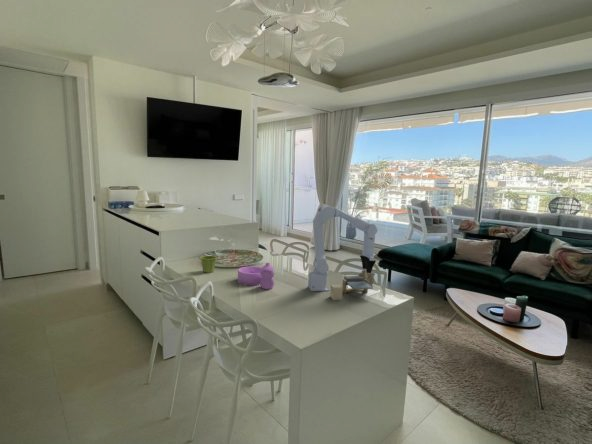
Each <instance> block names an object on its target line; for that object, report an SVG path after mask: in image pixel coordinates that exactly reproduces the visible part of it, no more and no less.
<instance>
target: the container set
mask: <svg viewBox="0 0 592 444" xmlns="http://www.w3.org/2000/svg"><path fill="white" fill-rule="evenodd" d="M274 270H275V268H274V266H273V265H271V263H270V262H265V264H264V265H263V266H252V265H251V266H243V267H239V268H238V270H237V283H238V282H239V284H240V283H242V284H241V285H243V284H246V285H245V286H260V287H261V289H264V290H270V289H272V288H273V287H274V286H275V280H274V279H273V278H274V276H275V271H274ZM259 284H260V285H259Z"/></svg>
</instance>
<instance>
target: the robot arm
mask: <svg viewBox="0 0 592 444" xmlns="http://www.w3.org/2000/svg"><path fill="white" fill-rule="evenodd" d="M332 218H341V219H343V220H346V221H347V222H349V223H350V224H351V226H352V227H354V228H356V229H358V230H359V231H362V232H363V244H362V245H363V246H362V253H361V254H362V255H359V258H360V260H361V266H362V269H363V270H366V271H367V273H371V272H373V268H374V266H375V265H376V263H377V260H375V256H377V254H376V253H375V244H376V243H375V240H376V234H377V233H378V227H377V226H376V224H373V223H371V222H370V221H369V220H366V219H364V218H363V217H362V216H360V215H359V216H358V215H357V216H352V215H351V214H349V213H347V212H345V211H343V210H341V209H339V208H337V207H333V206H330V205H328V204H323V205H321V206H320V207H319V208H318V209H317V211H316V214H315V215H314V218H313V219H312V229H313V240H314V252H315V253H314V260H313V267H314V269H313V271H312V272H309V273H308V283H307V284H308V285H307V287H308V289H309V290H310V292H322V291H323V292H326V291H327V292H328V291H330V289H329V288H328V287H327V283H328V271H329V268H330V267H329V266H330V265H329V264H328V262H327V257H326V253H325V251H326V250H325V238H324V224H325V223H326V222H327V221H328V220H331V219H332Z"/></svg>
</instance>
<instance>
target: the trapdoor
mask: <svg viewBox="0 0 592 444" xmlns="http://www.w3.org/2000/svg"><path fill="white" fill-rule="evenodd" d="M343 280H346V281H347V284H346V286H348V287H350V288H352V289H368V290H373V285H372V286H370V285H369V284H368V283H366V282H356V281H363V278H362V277H361V276H358V275H344V276H343Z"/></svg>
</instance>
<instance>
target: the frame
mask: <svg viewBox="0 0 592 444" xmlns="http://www.w3.org/2000/svg"><path fill="white" fill-rule="evenodd" d="M356 282H366V283H368V280H367V279H364V281H356ZM346 284H347V281H346V280H344V279H342V285H341V286H342V287H343V291H342V294H347V293H352V292H353V293H354V292H355V293H356V292H357V293H358V292H359V293H361V292H363V293H365V294H367V293H368V291H369V289H352V288H351V287H350V288H347V285H346Z"/></svg>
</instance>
